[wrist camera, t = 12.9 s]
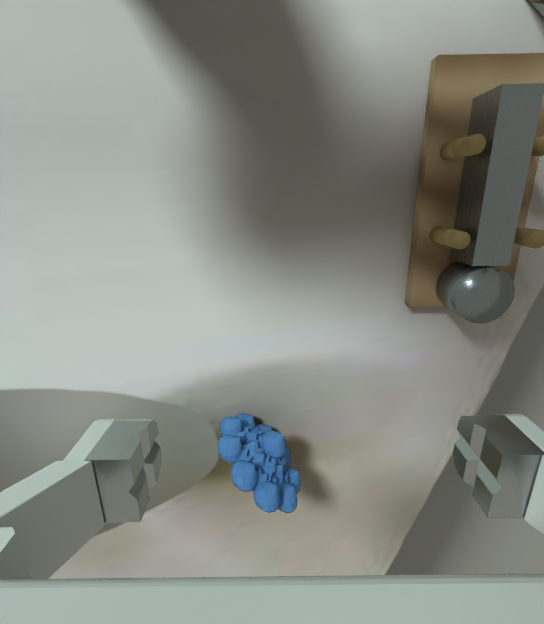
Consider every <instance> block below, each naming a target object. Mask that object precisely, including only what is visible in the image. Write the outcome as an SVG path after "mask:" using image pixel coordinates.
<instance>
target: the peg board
mask: <svg viewBox="0 0 544 624" xmlns="http://www.w3.org/2000/svg"><path fill="white" fill-rule="evenodd" d="M529 83H544V53H528V54H468V55H438V56H437V57H436V58H434V59H433V60H432V61H431V69H430V79H429V88H428V97H427V106H426V115H425V124H424V133H423V143H422V152H421V161H420V170H419V179H418V188H417V197H416V207H415V216H414V225H413V234H412V243H411V252H410V261H409V271H408V280H407V289H406V298H405V304H406V305H407V306H408V307H446V306H445V305H443V304H442V303H441V302H440V301H439V299H438V297H437V294H436V283H437V279H438V277H439V275H440V274H441V272H442V271H443V270H444V269H445V268H446V267H447V266H448V265H450V264H452V263H454V262H456V261H457V260H454V259H451V258H450V251H451V247H453V248H456V249H464V248H466V247H467V246H468V245H469V243H470V235H469V234H468V233H467V232H464V231H458V230H454V223H455V217H456V210H457V203H458V196H459V189H460V182H461V175H462V168H463V161H464V157H466V156H471V155H476V154H479V153H481V152H482V151H483V150H484V148H485V146H486V139H485V137H484V136H483V135H482V134H474V135H471V136H467V134H468V127H469V120H470V113H471V106H472V100H473V98H474V97H476V96H478V95H481V94H483V93H485V92H487V91H489V90H491V89H493V88H495V87H497V86H499V85H501V84H529ZM543 134H544V94H543V99H542V104H541V109H540V114H539V119H538V124H537V129H536V134H535V139H534V144H533V149H532V154H531V159H530V164H529V169H528V174H527V179H526V184H525V189H524V194H523V199H522V204H521V209H520V214H519V219H518V224H517V229H516V234H515V239H514V244H513V249H512V254H511V259H510V264H509V266H491V267H494V268H497V269H500V270H502V271H504V272H506V273H507V274H508V275H509V276H510V278H511V279H512V281H513V279H514V274H515V270H516V265H517V260H518V255H519V250H520V245H523V246H528V247H533V248H539V247H541V246H543V245H544V231H542V230H535V229H527V228H524V226H525V221H526V216H527V212H528V207H529V202H530V197H531V192H532V187H533V183H534V178H535V173H536V168H537V163H538V158H539V156H543V155H544V136H543Z"/></svg>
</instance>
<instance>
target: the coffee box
mask: <svg viewBox="0 0 544 624" xmlns="http://www.w3.org/2000/svg"><path fill="white" fill-rule="evenodd" d="M529 1H530V2H531V3H532V4H533V6H534V7H535V8H536V9H537V10H538V11H539V13H540V14H541V15H542V16H543V17H544V0H529Z"/></svg>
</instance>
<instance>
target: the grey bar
mask: <svg viewBox="0 0 544 624" xmlns="http://www.w3.org/2000/svg"><path fill="white" fill-rule="evenodd" d="M543 94H544V83H529V84H501V85H499V86H497V87H495V88H493V89H491V90H489V91H487V92H485V93H483V94H481V95H478V96H476V97H474V98H473V100H472V106H471V113H470V120H469V127H468V134H467V136H471V135H474V134H482V135H483V136H484V137H485V139H486V146H485V148H484V150H483V151H482V152H481V153H479V154H476V155H471V156H466V157H464V161H463V168H462V175H461V182H460V189H459V196H458V203H457V210H456V217H455V223H454V230H458V231H464V232H467V233H468V234H469V235H470V243H469V245H468V246H467V247H466V248H464V249H456V248H453V247H451V251H450V258H451V259H454V260H457V261H456V262H454V263H452V264H450V265H448V266H447V267H446V268H445V269H444V270H443V271H442V272H441V274H440V275H439V277H438V279H437V283H436V294H437V297H438V299H439V301H440V302H441V303H442V304H443V305H445V306H446V307H448V308H449V309H451V310H452V311H454V312H455V313H457V314H459V315H460V316H462V317H463V318H465V319H466V320H468V321H471V322H474V323H485V322H489V321H492V320H495V319H496V318H498V317H500V316H501V315H502V314H503V313H504V312H505V311H506V310H507V309H508V308H509V306H510V304H511V303H512V300H513V297H514V284H513V281H512V279H511V278H510V276H509V275H508V274H507V273H506V272H504V271H502V270H500V269H497V268H494V267H491V266H509V264H510V259H511V254H512V249H513V244H514V239H515V234H516V229H517V224H518V219H519V214H520V209H521V204H522V199H523V194H524V189H525V184H526V179H527V174H528V169H529V164H530V159H531V154H532V149H533V144H534V139H535V134H536V129H537V124H538V119H539V114H540V109H541V104H542V99H543Z"/></svg>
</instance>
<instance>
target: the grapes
mask: <svg viewBox="0 0 544 624" xmlns="http://www.w3.org/2000/svg"><path fill="white" fill-rule="evenodd" d="M220 432H221V435H222V437H221V438H220V439H219V442H218V451H219V454H220V457H221V458H222V459H223V460H224V461H226V462H229V463H234V464H233V465H232V469H231V477H232V481H233V484H234V485H235V487H236V488H238V489H239V490H241V491H244V492H249V491H253V494H254V500H255V503H256V505H257V506H258V507H259V508H260V509H261V510H263V511H265V512H268V513H270V512H275V511H276V510H277V509H279V510H280V511H282V512H285V513H291V512H293V511H294V510H295V509H296V507H297V495H296V494H297V493H298V492H299V491H300V486H301V482H300V476H299V473H298V471H297V470H295V469H293V468H291V467H290V464H291V457H290V451H289V448H287V447H286V445H285V439H284V436H283V434H281V433H279V432H275V431H272V428H271V427H269V426H267V425H263V424H258V425H256V426H255V422H254V419H253V416H251V415H248V414H244V413H242V414H238V415H237V416H235V418H234V417H231V416H230V417H225V418H224V419H222V420H221V423H220ZM253 489H254V490H253Z"/></svg>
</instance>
